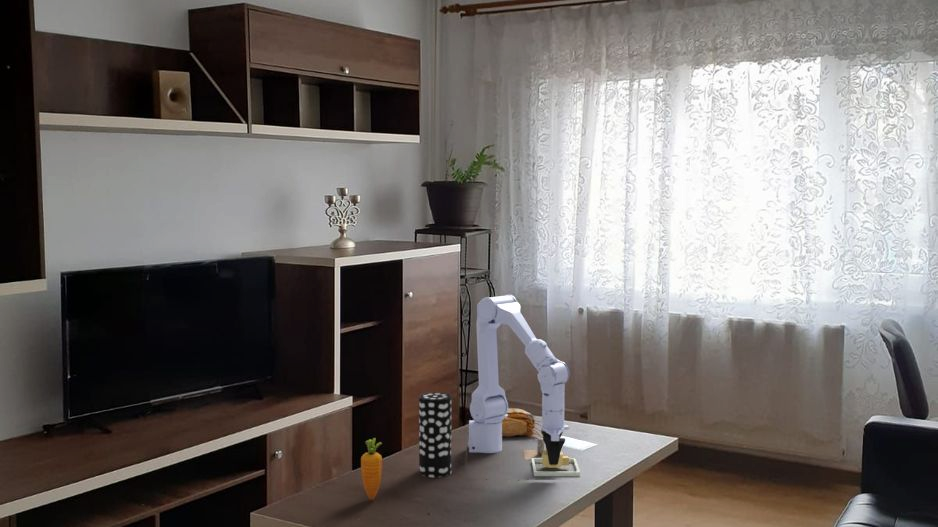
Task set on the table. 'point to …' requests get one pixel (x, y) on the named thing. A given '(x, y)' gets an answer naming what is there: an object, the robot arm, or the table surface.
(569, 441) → the hard drive
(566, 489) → the table surface
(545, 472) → the tray
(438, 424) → the spotted tube
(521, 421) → the nautilus
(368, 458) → the carrot
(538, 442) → the tan square peg base
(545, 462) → the ring
